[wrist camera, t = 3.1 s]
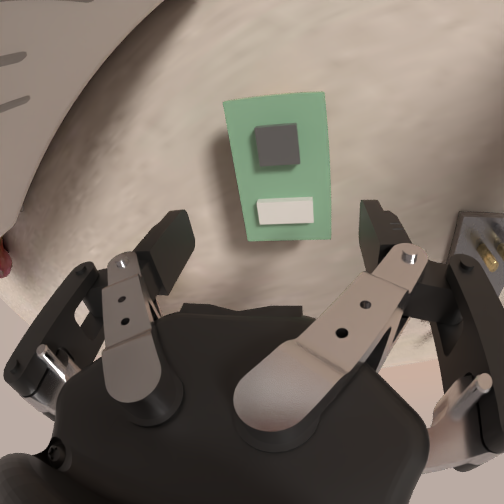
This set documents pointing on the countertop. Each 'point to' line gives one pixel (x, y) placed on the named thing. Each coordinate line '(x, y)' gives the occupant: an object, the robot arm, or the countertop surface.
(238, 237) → the countertop surface
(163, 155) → the countertop surface
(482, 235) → the chassis
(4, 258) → the flower
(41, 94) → the toaster
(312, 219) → the board
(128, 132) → the countertop surface
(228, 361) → the robot arm
